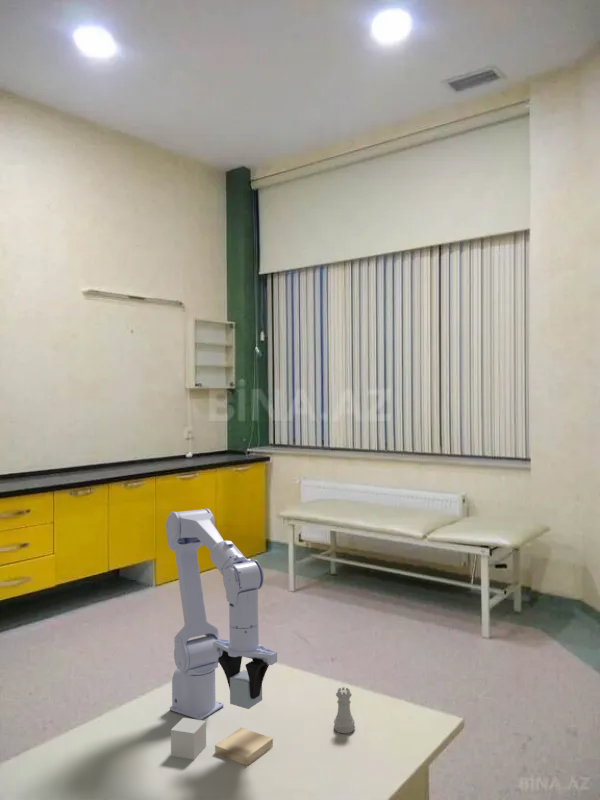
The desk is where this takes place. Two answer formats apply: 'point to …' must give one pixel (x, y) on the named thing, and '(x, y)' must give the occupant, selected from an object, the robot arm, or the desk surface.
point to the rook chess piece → (344, 712)
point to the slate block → (242, 691)
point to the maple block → (244, 746)
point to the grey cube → (188, 738)
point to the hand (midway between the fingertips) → (244, 693)
